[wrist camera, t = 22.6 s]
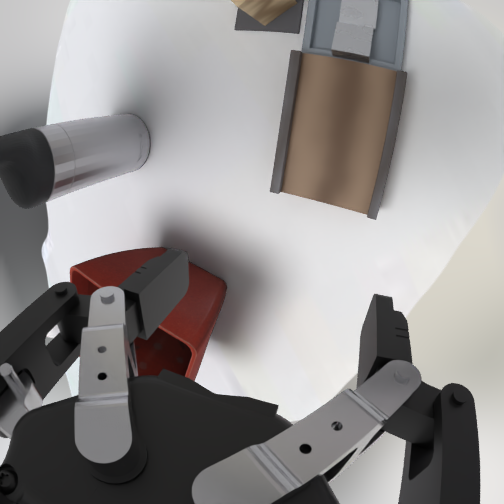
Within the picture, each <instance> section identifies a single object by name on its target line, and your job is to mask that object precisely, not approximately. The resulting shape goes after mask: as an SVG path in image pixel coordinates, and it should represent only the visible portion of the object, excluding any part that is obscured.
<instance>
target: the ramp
mask: <svg viewBox="0 0 504 504" xmlns="http://www.w3.org/2000/svg"><path fill="white" fill-rule="evenodd" d="M406 78H407V72H403V71H400V70H397V71H393V70H390V69H386V68H382V67H377V66H373V65H369V64H364V63H360V62H355V61H350V60H344V59H339V58H333V57H327V56H321V55H314V54H307V53H302V52H301V51H295V50H291V54H290V61H289V68H288V75H287V81H286V88H285V95H284V102H283V109H282V115H281V122H280V129H279V135H278V142H277V148H276V155H275V162H274V168H273V175H272V181H271V188H270V192H273V193H277V194H279V193H280V192H284V193H288V194H292V195H296V196H300V197H304V198H308V199H312V200H316V201H319V202H323V203H327V204H331V205H334V206H338V207H342V208H345V209H349V210H353V211H356V212H360V213H363V214H367V217H368V218H371V219H374V220H376V218H377V214H378V211H379V207H380V203H381V200H382V196H383V192H384V188H385V184H386V180H387V176H388V171H389V167H390V163H391V158H392V154H393V149H394V145H395V140H396V135H397V130H398V125H399V120H400V114H401V109H402V103H403V97H404V91H405V84H406Z"/></svg>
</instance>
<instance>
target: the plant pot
mask: <svg viewBox="0 0 504 504" xmlns="http://www.w3.org/2000/svg"><path fill="white" fill-rule="evenodd" d="M166 251H167V249H165V248H163V247H156V248H142V249H133V250H127V251H121V252H117V253H112V254H108V255H104V256H101V257H97V258H94V259H91V260H88V261H85V262H82V263H80V264H77V265H75V266H72V267H71V268H70V283H73V284H75V286H76V288H77V292H78V294H82V295H92V294H93V293H94V292H95V291H96V290H98V289H100V288H103V287H107V286H114V287H118V286H119V285H120V284H121V283H122V282H123V281H125V280H126V279H127V278H128V277H129V276H130V275H131V274H133V273H134V272H135V271H136V270H137V269H138V268H141V266H142V265H143V264H144V263H145V262H147V261H148V260H150V259H152V258H155V257H157V256H159V257H160V256H161V255H162V254H164V253H165V252H166ZM188 266H189V286H188V290H187V292H186V294H185V296H184V297H183V298H182V299H181V300H180V301H179V303H178V304H177V305H176V306H175V307H174V309H173V310H172V311H171V312H170V313H169V315H168V316H167V317H166V318H165V319H164V320H163V322H162V323H161V324H160V325H159V326H158V328H157V329H156V330H155V331H154V332H153V334H152V335H151V336H150V337H149V338H148V340H145V339H142V338H140V337H136V338H135V339H134V344H135V352H136V361H137V369H138V376H142V375H155V376H158V375H159V374H160V372H161V371H162V370H163V369H166V370H168V371H171V372H174V373H176V374H179V375H182V376H185V377H187V378H190V379H191V380H193V381H195V378H196V376H197V373H198V370H199V368H200V365H201V362H202V359H203V356H204V353H205V350H206V347H207V344H208V341H209V338H210V336H211V333H212V330H213V328H214V325H215V323H216V320H217V317H218V315H219V312H220V310H221V307H222V304H223V301H224V298H225V295H226V290H227V285H226V283H225V282H224V281H223V280H222V279H220V278H218V277H216V276H214V275H212V274H210V273H209V272H207V271H205V270H203V269H201V268H199V267H198V266H196V265H194V264H192V263H190V262H188ZM79 357H80V356H79Z"/></svg>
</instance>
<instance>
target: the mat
mask: <svg viewBox="0 0 504 504" xmlns="http://www.w3.org/2000/svg"><path fill="white" fill-rule="evenodd" d="M295 1H296V2H297V4H296V5H294V6H293V7H291V8H290V9H288V10H287V11H285V12H284V13H282V14H281V15H280V16H278V17H277V18H275V19H274V20H273V21H271V22H270V23H268V24H267V25H266V26H264V25H263V24H261V23H260V22H259V21H257V20H256V19H254V18H253V17H252V16H250V15H249V14H247V13H246V12H244V11H243V10H241V9H240V8H238V11H237V18H236V24H235V30H251V31H273V32H286V33H297V34H299V29H300V22H301V15H302V8H303V0H295Z"/></svg>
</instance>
